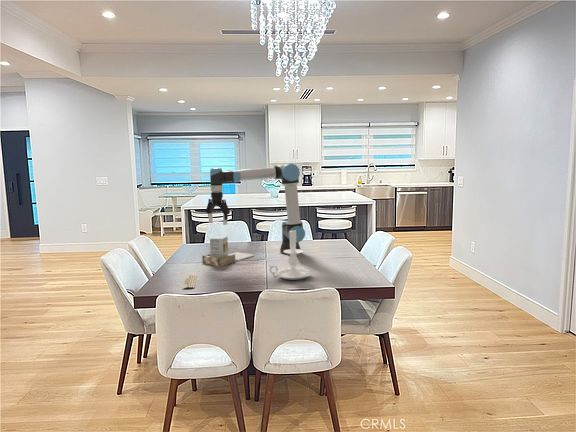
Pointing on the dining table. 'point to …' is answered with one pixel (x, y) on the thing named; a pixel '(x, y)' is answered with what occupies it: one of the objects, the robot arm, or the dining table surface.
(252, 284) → the dining table surface
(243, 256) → the tile
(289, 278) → the candlestick
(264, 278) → the dining table surface
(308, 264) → the dining table surface
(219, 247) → the supplement box
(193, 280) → the newspaper
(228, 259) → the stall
